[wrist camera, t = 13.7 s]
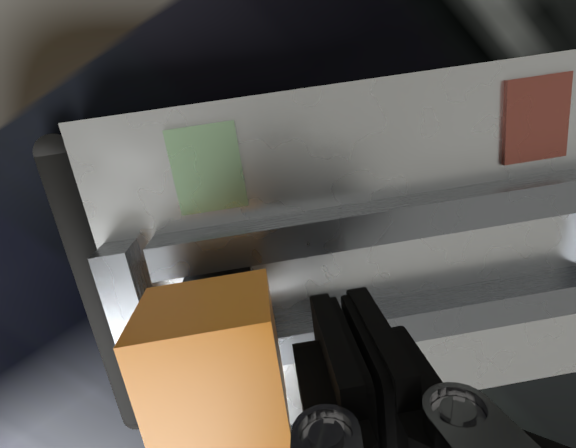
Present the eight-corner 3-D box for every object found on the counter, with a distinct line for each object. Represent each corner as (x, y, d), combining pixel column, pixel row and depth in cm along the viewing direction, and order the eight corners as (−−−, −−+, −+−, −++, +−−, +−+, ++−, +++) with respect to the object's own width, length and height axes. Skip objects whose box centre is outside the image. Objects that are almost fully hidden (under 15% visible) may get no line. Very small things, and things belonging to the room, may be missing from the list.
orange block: (278, 330, 16) (293, 453, 10) (188, 345, 16) (155, 479, 10) (262, 237, 14) (271, 321, 9) (165, 253, 14) (113, 348, 9)
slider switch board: (577, 340, 20) (642, 387, 17) (168, 413, 19) (150, 480, 16) (609, 44, 16) (706, 30, 12) (82, 120, 15) (33, 125, 11)
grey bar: (160, 410, 19) (153, 433, 18) (131, 415, 19) (122, 439, 18) (76, 129, 15) (59, 132, 14) (39, 135, 15) (18, 138, 13)
